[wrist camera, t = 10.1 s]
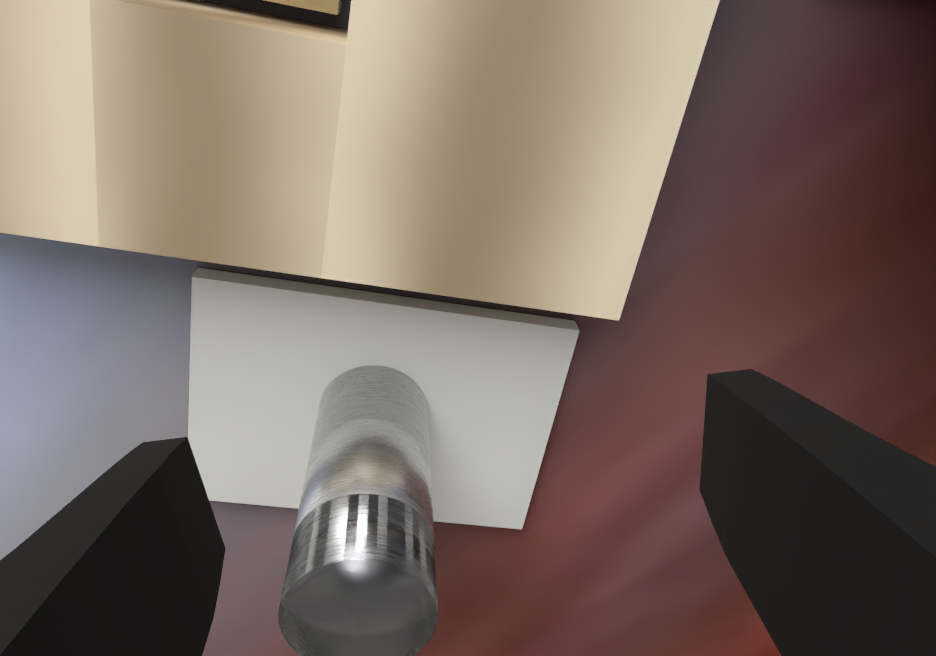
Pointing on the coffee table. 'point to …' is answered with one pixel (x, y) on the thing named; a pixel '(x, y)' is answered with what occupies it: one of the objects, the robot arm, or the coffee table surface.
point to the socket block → (354, 138)
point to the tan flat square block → (314, 5)
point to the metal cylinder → (364, 524)
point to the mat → (363, 344)
